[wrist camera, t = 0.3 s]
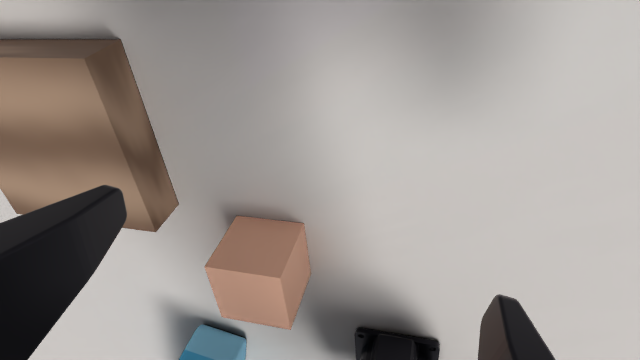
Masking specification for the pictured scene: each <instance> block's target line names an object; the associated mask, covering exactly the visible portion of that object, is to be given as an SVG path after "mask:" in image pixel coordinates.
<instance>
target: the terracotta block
mask: <svg viewBox="0 0 640 360" xmlns="http://www.w3.org/2000/svg"><path fill="white" fill-rule="evenodd" d="M205 270H206V273H207V275H208V278H209V281H210V284H211V287H212V290H213V293H214V296H215V299H216V301H217V304H218V307H219V310H220V313H221V316H222V317H224V318H230V319H235V320H240V321H246V322H251V323H257V324H262V325H268V326H273V327H278V328H284V329H289V330H291V327H292V325H293V322H294V319H295V316H296V314H297V311H298V308H299V305H300V303H301V300H302V297H303V294H304V292H305V289H306V286H307V283H308V281H309V278H310V275H311V270H310V263H309V256H308V249H307V241H306V234H305V227H304V223H296V222H287V221H279V220H270V219H261V218H253V217H244V216H236V218H235V219H234V221H233V222H232V224H231V226H230V227H229V229H228V230H227V232H226V233H225V235H224V237H223V238H222V240H221V241H220V243H219V245H218V246H217V248H216V249H215V251H214V253H213V254H212V256H211V257H210V259H209V260H208V262H207V264H206V265H205Z"/></svg>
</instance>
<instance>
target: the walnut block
mask: <svg viewBox="0 0 640 360" xmlns="http://www.w3.org/2000/svg"><path fill="white" fill-rule="evenodd" d="M102 185H109V186H113V187H116V188H119V189H121V191H122V192H123V196H124V201H125V206H126V210H127V218H126V221H125V223H124V225H123V227H122V228H128V229H136V230H143V231H151V232H156V231H157V230H158V229H159V228H160V227H161V225H162V224H163V223H164V222H165V220H166V219H167V218H168V217H169V216H170V214H171V213H172V212H173V211H174V209H175V208H176V207H177V206H178V205H179V204H178V201H177V198H176V195H175V193H174V190H173V187H172V184H171V181H170V178H169V176H168V173H167V170H166V167H165V164H164V161H163V159H162V156H161V153H160V150H159V147H158V144H157V142H156V139H155V136H154V133H153V130H152V128H151V125H150V122H149V119H148V116H147V113H146V111H145V108H144V105H143V102H142V99H141V96H140V94H139V91H138V88H137V85H136V82H135V79H134V77H133V74H132V71H131V68H130V65H129V63H128V60H127V57H126V54H125V51H124V48H123V46H122V43H121V40H120V39H0V189H1V190H2V192H3V193H4V195H5V196H6V198H7V199H8V201H9V203H10V204H11V206H12V207H13V209H14V210H15V212H16V213H17V214H23V215H24V214H26V213H29V212H32V211H34V210H37V209H40V208H42V207H45V206H48V205H50V204H53V203H56V202H58V201H61V200H64V199H66V198H69V197H72V196H74V195H77V194H80V193H83V192H85V191H88V190H91V189H93V188H96V187H99V186H102Z"/></svg>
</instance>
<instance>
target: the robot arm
mask: <svg viewBox="0 0 640 360" xmlns="http://www.w3.org/2000/svg"><path fill="white" fill-rule="evenodd" d="M126 218H127V210H126V206H125V201H124V196H123V192H122V191H121V189H119V188H116V187H113V186H109V185H102V186H99V187H96V188H93V189H91V190H88V191H85V192H83V193H80V194H77V195H74V196H72V197H69V198H66V199H64V200H61V201H58V202H56V203H53V204H50V205H48V206H45V207H42V208H40V209H37V210H34V211H32V212H29V213H26V214H24V215H21V216H18V217H16V218H13V219H10V220H7V221H5V222H2V223H0V360H28V358H29V357H30V356H31V355H32V353H33V352H34V351H35V349H36V348H37V347H38V345H39V344H40V343H41V341H42V340H43V339H44V338H45V336H46V335H47V334H48V332H49V331H50V330H51V328H52V327H53V326H54V325H55V323H56V322H57V321H58V319H59V318H60V317H61V315H62V314H63V313H64V312H65V310H66V309H67V308H68V306H69V305H70V304H71V302H72V301H73V300H74V299H75V297H76V296H77V295H78V293H79V292H80V291H81V289H82V288H83V287H84V285H85V284H86V283H87V282H88V280H89V279H90V277H91V276H92V275H93V273H94V272H95V270H96V269H97V267H98V266H99V264H100V263H101V261H102V259H103V258H104V256H105V254H106V253H107V251H108V250H109V248H110V246H111V245H112V243H113V241H114V240H115V238H116V236H117V235H118V233H119V232H120V230H121V228H122V227H123V225H124V223H125V221H126ZM355 346H356V360H438V358H439V350H440V344H439V343H438V342H436V341H434V340H428V339H422V338H416V337H411V336H405V335H399V334H393V333H388V332H382V331H376V330H371V329H365V328H357V329H356V332H355ZM478 360H555V358H554V357H553V355H552V353H551V352H550V350H549V349H548V347H547V346H546V344H545V342H544V341H543V339H542V338H541V336H540V334H539V333H538V331H537V330H536V328H535V327H534V325H533V323H532V322H531V320H530V319H529V317H528V316H527V314H526V312H525V311H524V309H523V308H522V306H521V305H520V303H519V302H518V301H517V300H516V299H514V298H511V297H507V296H503V295H496V296H495V297H494V299H493V300H492V302H491V304H490V305H489V307H488V309H487V311H486V312H485V314H484V316H483V318H482V321H481V327H480V339H479V352H478Z"/></svg>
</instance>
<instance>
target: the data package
mask: <svg viewBox="0 0 640 360" xmlns="http://www.w3.org/2000/svg"><path fill="white" fill-rule="evenodd" d="M245 357H246V339H245V338H243V337H240V336H237V335H234V334H231V333H228V332H225V331H222V330H219V329H216V328H213V327H210V326H207V325H200V326H199V327H198V328H197V329H196V330H195V332H194V334H193V335H192V337H191V339H190V341H189V343H188V344H187V346H186V348H185V350H184V351H183V353H182V355H181V357H180V358H179V360H245Z"/></svg>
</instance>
